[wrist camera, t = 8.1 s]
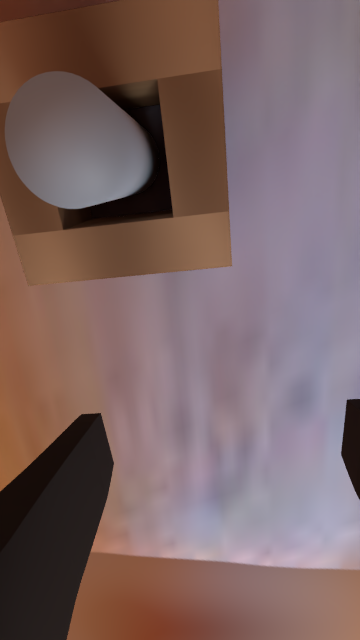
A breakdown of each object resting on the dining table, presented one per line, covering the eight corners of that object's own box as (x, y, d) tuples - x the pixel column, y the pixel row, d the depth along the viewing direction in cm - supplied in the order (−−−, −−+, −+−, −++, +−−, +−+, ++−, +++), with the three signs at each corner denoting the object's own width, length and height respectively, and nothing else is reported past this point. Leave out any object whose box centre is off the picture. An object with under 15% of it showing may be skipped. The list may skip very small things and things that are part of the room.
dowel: (158, 120, 15) (119, 68, 8) (161, 194, 16) (130, 208, 9) (90, 123, 15) (-9, 74, 8) (98, 195, 17) (19, 209, 9)
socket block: (212, 34, 14) (217, -17, 10) (225, 247, 17) (231, 266, 14) (11, 67, 15) (-51, 31, 11) (63, 264, 18) (28, 285, 15)
